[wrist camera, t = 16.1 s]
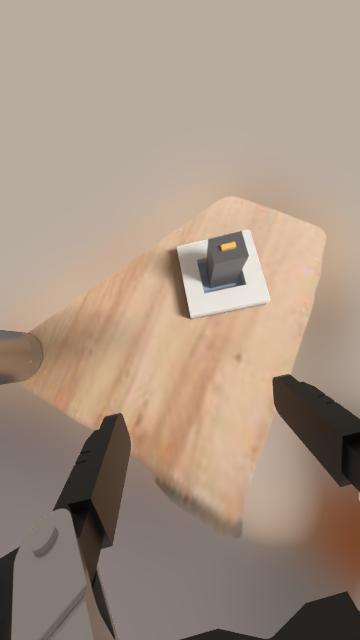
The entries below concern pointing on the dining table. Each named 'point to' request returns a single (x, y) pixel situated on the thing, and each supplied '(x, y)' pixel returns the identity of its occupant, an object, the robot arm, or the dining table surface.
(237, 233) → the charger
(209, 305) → the dock
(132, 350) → the dining table surface
